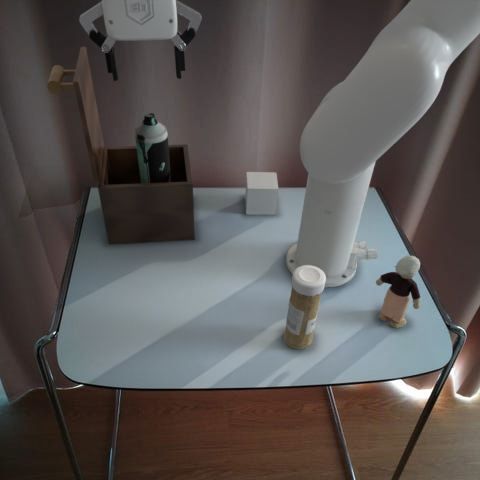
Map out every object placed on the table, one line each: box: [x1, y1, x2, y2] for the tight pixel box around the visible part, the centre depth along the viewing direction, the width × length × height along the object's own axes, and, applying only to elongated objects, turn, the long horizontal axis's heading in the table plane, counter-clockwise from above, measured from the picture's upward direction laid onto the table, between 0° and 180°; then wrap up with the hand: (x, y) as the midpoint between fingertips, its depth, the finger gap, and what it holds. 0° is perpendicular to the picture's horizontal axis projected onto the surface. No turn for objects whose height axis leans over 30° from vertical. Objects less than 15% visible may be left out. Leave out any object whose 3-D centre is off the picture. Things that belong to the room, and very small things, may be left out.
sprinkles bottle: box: [283, 265, 326, 350], centre depth 72 cm, size 5×5×14 cm
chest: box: [97, 143, 196, 245], centre depth 92 cm, size 16×14×12 cm
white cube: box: [244, 171, 280, 216], centre depth 99 cm, size 6×6×6 cm
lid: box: [46, 46, 105, 186], centre depth 80 cm, size 17×14×5 cm
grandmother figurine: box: [375, 255, 421, 329], centre depth 76 cm, size 8×4×13 cm, turn 58°
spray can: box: [134, 112, 171, 184], centre depth 89 cm, size 6×6×20 cm
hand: (147, 76), depth 77 cm, fingers open, 9 cm apart
